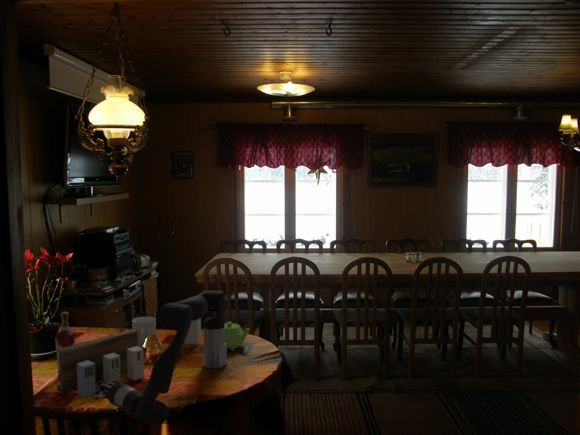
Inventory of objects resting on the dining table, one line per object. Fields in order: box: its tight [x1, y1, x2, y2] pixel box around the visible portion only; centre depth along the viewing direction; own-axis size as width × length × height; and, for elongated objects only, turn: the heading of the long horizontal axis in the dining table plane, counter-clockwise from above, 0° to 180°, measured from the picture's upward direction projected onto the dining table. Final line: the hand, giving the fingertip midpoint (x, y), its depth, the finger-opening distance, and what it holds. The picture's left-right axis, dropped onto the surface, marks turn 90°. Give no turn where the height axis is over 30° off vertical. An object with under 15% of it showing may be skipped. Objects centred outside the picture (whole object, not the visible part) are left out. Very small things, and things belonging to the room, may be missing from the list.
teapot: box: [225, 321, 250, 352], centre depth 233 cm, size 20×13×13 cm
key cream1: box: [126, 346, 145, 381], centre depth 197 cm, size 5×4×12 cm
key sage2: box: [103, 353, 122, 383], centre depth 189 cm, size 5×4×12 cm
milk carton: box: [183, 318, 202, 345], centre depth 240 cm, size 7×7×19 cm
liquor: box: [54, 311, 76, 382], centre depth 194 cm, size 7×7×28 cm
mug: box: [131, 316, 157, 348], centre depth 234 cm, size 15×11×13 cm
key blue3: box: [77, 360, 96, 399], centre depth 181 cm, size 5×4×12 cm
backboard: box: [56, 329, 139, 395], centre depth 195 cm, size 6×33×17 cm, turn 140°
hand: (99, 383), depth 174 cm, fingers closed
